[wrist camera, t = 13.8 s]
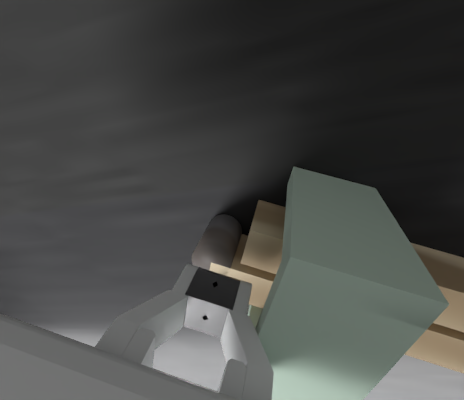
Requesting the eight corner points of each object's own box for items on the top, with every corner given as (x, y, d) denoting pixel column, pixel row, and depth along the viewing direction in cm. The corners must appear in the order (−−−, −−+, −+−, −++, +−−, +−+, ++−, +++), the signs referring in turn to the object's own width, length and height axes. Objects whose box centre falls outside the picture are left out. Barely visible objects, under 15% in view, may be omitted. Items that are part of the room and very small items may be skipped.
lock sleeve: (314, 304, 17) (323, 442, 11) (253, 285, 17) (229, 408, 11) (375, 188, 13) (449, 304, 6) (293, 166, 13) (290, 256, 7)
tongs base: (685, 397, 14) (773, 473, 11) (204, 249, 17) (187, 284, 14) (749, 366, 13) (868, 445, 10) (212, 210, 15) (194, 240, 13)
